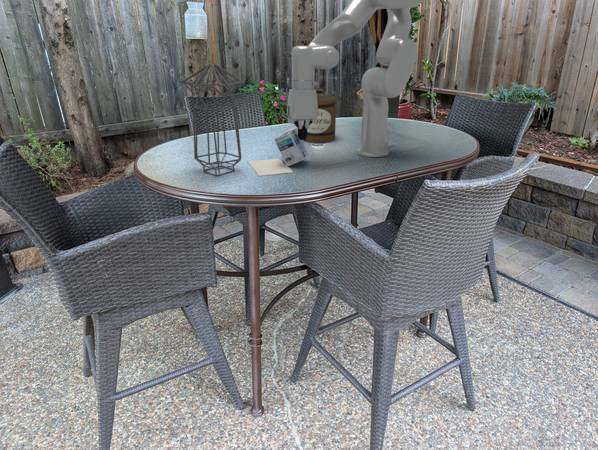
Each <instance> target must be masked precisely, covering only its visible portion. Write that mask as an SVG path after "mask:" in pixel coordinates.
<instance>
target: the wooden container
mask: <svg viewBox="0 0 598 450" xmlns="http://www.w3.org/2000/svg"><path fill="white" fill-rule="evenodd" d="M314 89H315V90H316V94H317V103H318V116H317V120H318V121H317V122H314V123H312V124H311V125H310V126H309V128H308V129H307V137H306V140H303V142H304V141H305V142H308V143H314V144H321V143H322V144H323V143H331V142H333V141H335V140H336V123H337V122H336V103H337V101H336V100H337V99H336V96H334V95H329V94H324V93H323V91H324V90H323V88H322V87H316V88H314ZM301 121H302V127H303V121H304V120H301Z"/></svg>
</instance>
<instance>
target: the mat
mask: <svg viewBox="0 0 598 450" xmlns="http://www.w3.org/2000/svg"><path fill="white" fill-rule="evenodd" d="M247 164H248V165H249V166H250V167H251V169H253V171H254V172H255V173H256V174H257V175H258V176H259V177H265V176H274V175H275V176H276V175H282V174H283V175H284V174H293V173H294V170H292V169H291V168H290V167H289V166H287V165H286V163H285V162H283V161H282V160H281V159H280V158H270V159H257V160H249V161H247Z"/></svg>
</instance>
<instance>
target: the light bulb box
mask: <svg viewBox="0 0 598 450" xmlns="http://www.w3.org/2000/svg"><path fill="white" fill-rule="evenodd" d="M274 141H275V144H276V146H277V147H278V150H279V152H280V155H281V157H282V158H283V161H284V164H285V165H286V166H287V167H289V166H292V165H294V164H297V163H300V162H302V161H304V159H305V158H306V157H307V156H308V155H309V152H308V149H307V146H306V144H305V142H304V140H300V139H299V137H298V128H297V126H295V127H294V128H290V129H289V130H286V131H284V132H281V133H280V134H279V135H277V136H276V137H275V138H274Z"/></svg>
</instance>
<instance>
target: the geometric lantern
mask: <svg viewBox="0 0 598 450" xmlns="http://www.w3.org/2000/svg"><path fill="white" fill-rule="evenodd" d="M210 74H211V75H210ZM197 75H198V76H197ZM195 76H196V78H195V79H194V80H193V81H192V80H190V79H192V78H194V77H195ZM205 76H206V77H205ZM229 76H230V77H231V78H233V79H234V80H236V81H233V80H232V79H231V78H230V77H229ZM204 77H205V80H204V81H203V79H204ZM213 77H214V79H213ZM219 81H220V82H221V83H222V84H220V82H219ZM216 82H217V83H216ZM181 83H183V85H184V86H185V87H186V89H188V90H189V91H190V93H191V95H192V96H191V97H192V98H194V96H195V95H197V96H196V100H195V102H194V100H192V121H193V122H192V123H193V125H192V126H193V155H194V157H193V158H194V160H196V161H197V162H198V163H199V164H200V165H201V166H202V168H203V169H202V171H203V173H205V174H209V175H211V176H215V177H220V176H223V175H226V174H229V173H233V172H235V166H236V165H238V163H239V162H240V161H242V150H241V139H240V130H239V129H240V127H239V119H238V110H237V108H238V106H237V105H235V101H234V95H233V93H236V91H237V90H238V89H239V88H240V87H241V85H243V84H246V81H244V80H242V79H241V78H239V77H238V76H236V75H234V74H233V73H231V72H229V71H228V70H226V69H224V68H223V67H221V66H219V65H218V64H216V63H208V64H207V65H205V66H203V67H202V68H200V69H199V70H197V71H195V72H194V73H192V74H191V75H190V76H187V78H185V79H183V80H182V81H181ZM205 86H206V88H205V89H204V87H205ZM208 86H209V87H208ZM215 86H217V87H219V88H220V90H218V89H217V88H216V87H215ZM232 86H234V87H233V88H232ZM197 87H198V88H197ZM222 87H225V89H226V90H227V92H224V93H223V91H222V90H223V89H222ZM211 88H212V89H213V90H215V92H217V94H218V95H217V97H216V98H215V99H214V98H213V96H212V95H211V94H210V92H209V91H210V89H211ZM193 89H194V91H195V92H194V91H193ZM201 92H206V93H207V95H208V96H209V97H210V98H211V99H212V101H213V103H208V104H206V103H205V102H204V100H203V98H202V97H201V95H200V93H201ZM220 96H222V97H223V96H224V98H223V100H222V102H221V103H217V100H218V99H219V97H220ZM227 96H229V99H230V101H231V104H230V105H229V104H224V103H225V102H226V99H227ZM199 100H200V101H201V103H202V104H201V105H198V103H199ZM194 103H195V105H194ZM208 106H211V107H210V108H208ZM214 106H216V108H214V109H212V108H213V107H214ZM219 106H221V107H220V108H219ZM224 106H226V107H224ZM202 107H204V108H202ZM198 110H204V111H205V113H206V114H205V115H206V133H207V134H206V136H207V141H206V142H207V154H203V155H198ZM224 110H233V111H232V112H233V119H234V120H233V121H234V127H235V129H234V130H235V135H236V136H235V137H236V143H237V153H238V154H237V155H236V154H234V153H233V154H232V153H229V152H228V151H227V142H226V141H227V139H226V127H225V117H224V116H225V115H224ZM209 111H210V113H211V122H212V129H213V139H214V149H215V150H214V151H215V152H212V153H210V152H211V151H210V149H211V148H210V134H209V132H210V126H209ZM214 111H216V125H215V120H214ZM219 111H221V118H222V130H223V131H222V132H223V140H224V141H223V142H224V151H223V152H221V151H220V133H219V132H220V131H219V130H220V129H219V127H220V126H219V125H220V124H219V123H220V122H219ZM215 126H216V128H215ZM216 129H217V130H216ZM216 135H217V137H216ZM220 154H222V155H223V157H222V159H220ZM214 155H215V159H216V161H214V162H211V156H214ZM227 155H228V156H232V157H235V159H232V160H225V161H224V159H225V157H226V156H227ZM204 157H207V160H208V161H205V160H202V159H200V158H204ZM236 158H237V159H236ZM233 162H234V163H233ZM223 164H226V165H229V166H224V165H223ZM213 165H216V166H213ZM231 167H232V168H231ZM205 168H206V169H205ZM222 169H229V170H231V171H227V172H224V173H221V171H220V170H222ZM209 170H214V172H215V174H214V173H212V172H210V171H209ZM208 171H209V172H208ZM217 171H218V172H217ZM217 173H218V174H217Z"/></svg>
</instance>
